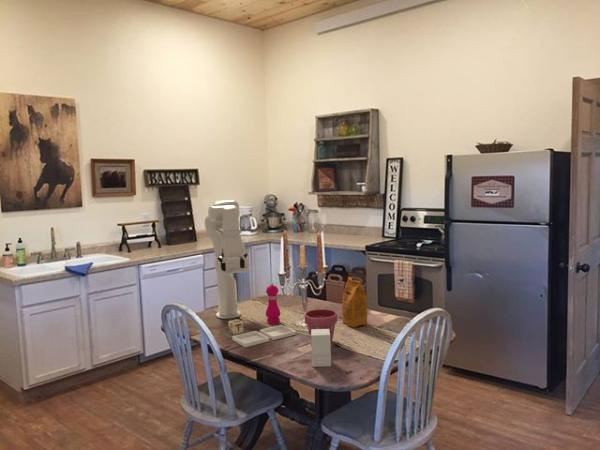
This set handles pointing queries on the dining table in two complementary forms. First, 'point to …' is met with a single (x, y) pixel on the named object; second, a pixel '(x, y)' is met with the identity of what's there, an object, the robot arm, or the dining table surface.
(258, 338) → the tray
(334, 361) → the dining table surface
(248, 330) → the pad
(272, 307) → the pepper mill
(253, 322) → the dining table surface
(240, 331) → the letter cube
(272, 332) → the tray
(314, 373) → the dining table surface
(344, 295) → the coffee package
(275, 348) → the dining table surface
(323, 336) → the supplement box
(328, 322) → the plant pot
